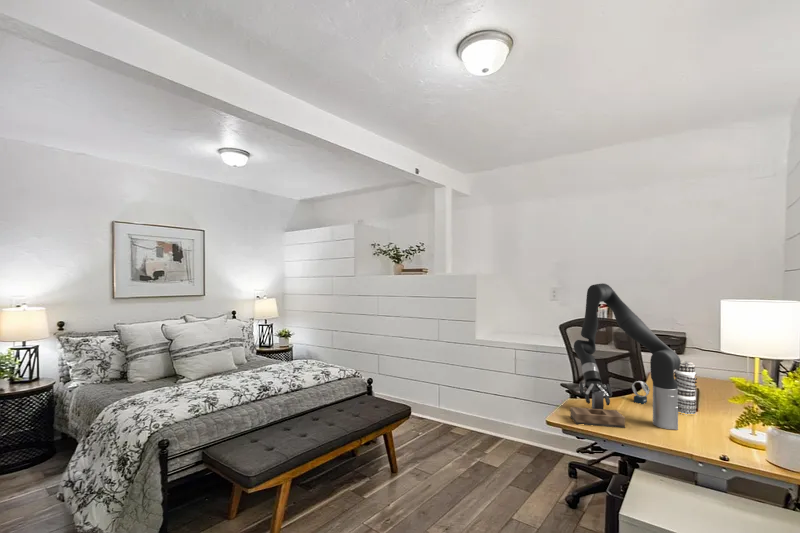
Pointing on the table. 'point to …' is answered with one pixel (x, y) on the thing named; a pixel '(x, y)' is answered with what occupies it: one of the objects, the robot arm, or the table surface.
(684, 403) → the model tower building
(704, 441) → the table surface
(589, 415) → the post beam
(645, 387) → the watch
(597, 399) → the grey rectangular block
